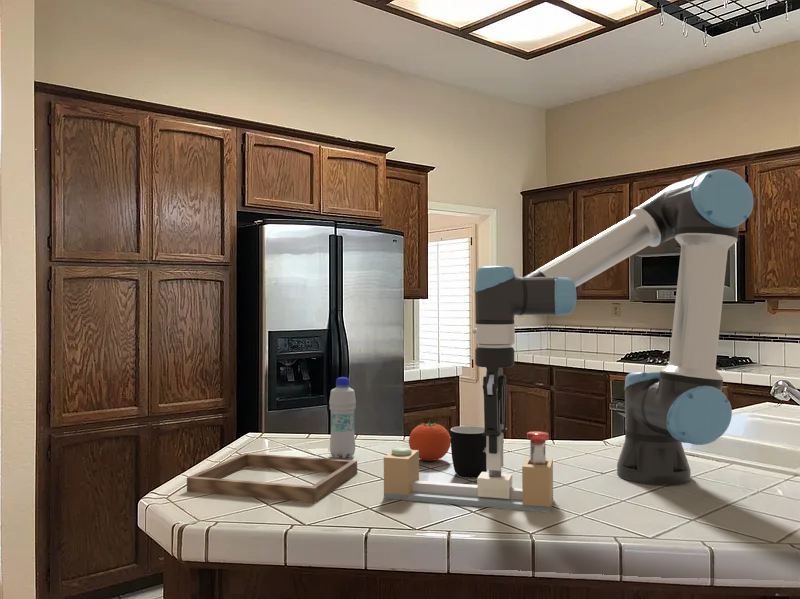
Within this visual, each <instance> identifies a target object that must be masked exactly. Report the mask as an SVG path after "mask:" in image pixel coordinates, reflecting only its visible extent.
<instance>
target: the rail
mask: <svg viewBox="0 0 800 599" xmlns="http://www.w3.org/2000/svg"><path fill="white" fill-rule="evenodd" d="M545 463H546V465H533V464H530V456H526V457H525V460H524V462H523V464H522V468H521V469H522V471H521V474H522V475H521V476H522V480H521V482H522V484H521V485H522V488H521V487H512V488H510V498H509V499H503V498H491V497H479V496H478V488H477V484H469V483H468V484H467V483H455V482H443V481H430V480H429V481H428V480H420V458H419V450H411V449H410V447H394V448H392V449H391V452H389V453H388V454H387V455H385V456H384V457H383V498H384V499H389V500H390V499H391V500H403V501H412V502H413V501H415V502H422V503H423V502H424V503H425V502H427V503H434V504H435V503H437V504H450V505H451V504H452V505H459V506H460V505H461V506H474V507H483V508H494V509H495V508H497V509H507V510H517V511H518V510H519V511H520V510H522V511H533V512H543V513H551V510H552V506H553V501H554V459H553V458H549V457H547V458H546V457H545Z"/></svg>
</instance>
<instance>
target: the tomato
mask: <svg viewBox="0 0 800 599" xmlns="http://www.w3.org/2000/svg"><path fill="white" fill-rule="evenodd" d="M408 446H409V449H411V450H419V460H422V461H427V462H433V461H437V460H440V459H442V458H443V457H445V456H446V455H447V453H448V452H449V451H450V449H451V440H450V432H449V431H448V429H446V428H445V427H444V426H443V425H441V424H439V423H437V422H434V423H431V419H428V422H427V423H423V422H420V423H419V424H417V426H415V427H414V428H413V429H412V430H411V433H410V434H409V437H408Z"/></svg>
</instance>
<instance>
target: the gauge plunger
mask: <svg viewBox="0 0 800 599" xmlns="http://www.w3.org/2000/svg"><path fill="white" fill-rule="evenodd" d="M526 434H527V435H526V439H527V440H529V442H530V443H529V444H530V446H529V447H530V448H529V452H530V456H529V457H530V464H533V465H546V463H545V458H546V441H548V440H550V437H549V433H548V432H545V431H529V432H528V431H527V432H526Z"/></svg>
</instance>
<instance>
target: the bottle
mask: <svg viewBox="0 0 800 599" xmlns="http://www.w3.org/2000/svg"><path fill="white" fill-rule="evenodd" d="M350 383H351V382H350V378H349V377H345V376H340V377H337V378H336V380H335V386H336V387H334V388H332V389H331V390H330V395H329V401H328V404H329V410H330V442H329V451H330V452H329V453H330V456H331V457H332V458H334V459H338V460H339V459H340V456H341V458H342V460H346V457H347V458H348V459H349V458H352V457H353V456H354V454H355V452H356V438H355V410H356V408H357V407H356V404H357V400H356V393H355V389H353V388H351V387H350Z"/></svg>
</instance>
